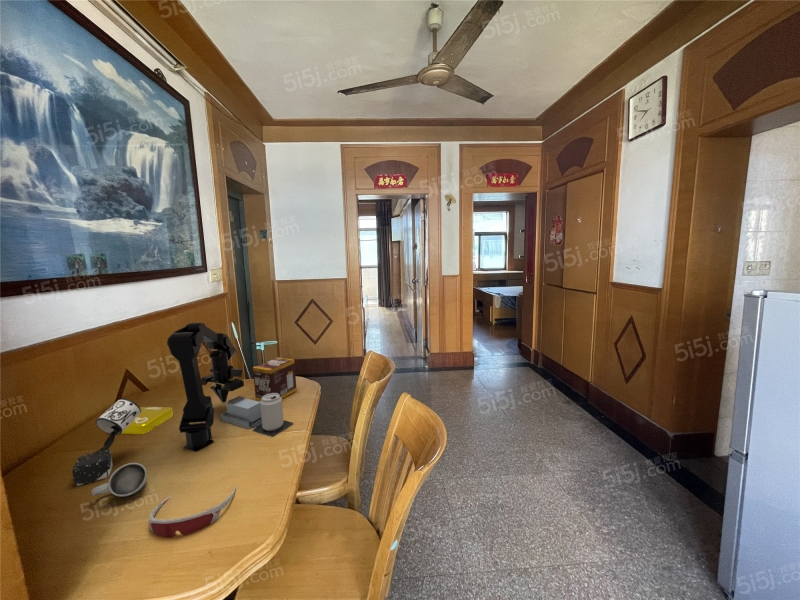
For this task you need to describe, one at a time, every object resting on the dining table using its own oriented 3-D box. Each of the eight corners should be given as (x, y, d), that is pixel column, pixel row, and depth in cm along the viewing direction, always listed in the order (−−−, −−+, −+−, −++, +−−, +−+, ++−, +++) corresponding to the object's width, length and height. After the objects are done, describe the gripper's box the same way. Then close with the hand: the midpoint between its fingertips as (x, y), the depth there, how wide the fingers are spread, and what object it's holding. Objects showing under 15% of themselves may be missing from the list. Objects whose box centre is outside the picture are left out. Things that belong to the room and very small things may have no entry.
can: (279, 431, 118) (276, 400, 116) (258, 432, 118) (255, 400, 116) (286, 421, 125) (284, 391, 123) (267, 421, 125) (264, 391, 123)
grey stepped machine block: (249, 423, 123) (247, 406, 122) (227, 417, 128) (226, 401, 127) (262, 416, 128) (260, 400, 127) (240, 411, 133) (239, 395, 132)
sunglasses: (132, 550, 71) (131, 527, 71) (171, 505, 87) (170, 486, 88) (218, 536, 74) (218, 513, 74) (240, 495, 91) (239, 477, 91)
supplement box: (255, 400, 145) (252, 367, 143) (280, 387, 159) (277, 356, 157) (272, 404, 141) (269, 369, 139) (297, 390, 155) (294, 359, 153)
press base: (272, 437, 115) (272, 429, 114) (219, 422, 127) (219, 414, 126) (293, 424, 124) (292, 416, 123) (242, 410, 136) (241, 403, 135)
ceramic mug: (141, 496, 90) (152, 465, 94) (139, 496, 84) (151, 463, 88) (92, 496, 85) (105, 463, 89) (86, 496, 79) (101, 461, 83)
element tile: (176, 416, 133) (174, 405, 132) (144, 437, 118) (142, 424, 117) (141, 416, 134) (140, 405, 133) (106, 436, 119) (104, 424, 119)
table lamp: (111, 400, 106) (103, 393, 99) (146, 404, 110) (142, 399, 102) (67, 489, 94) (54, 490, 86) (109, 491, 97) (100, 492, 89)
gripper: (253, 361, 133) (256, 398, 135) (223, 356, 141) (226, 391, 143) (229, 370, 123) (233, 409, 125) (197, 364, 131) (201, 401, 133)
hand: (224, 402), depth 132 cm, fingers closed
